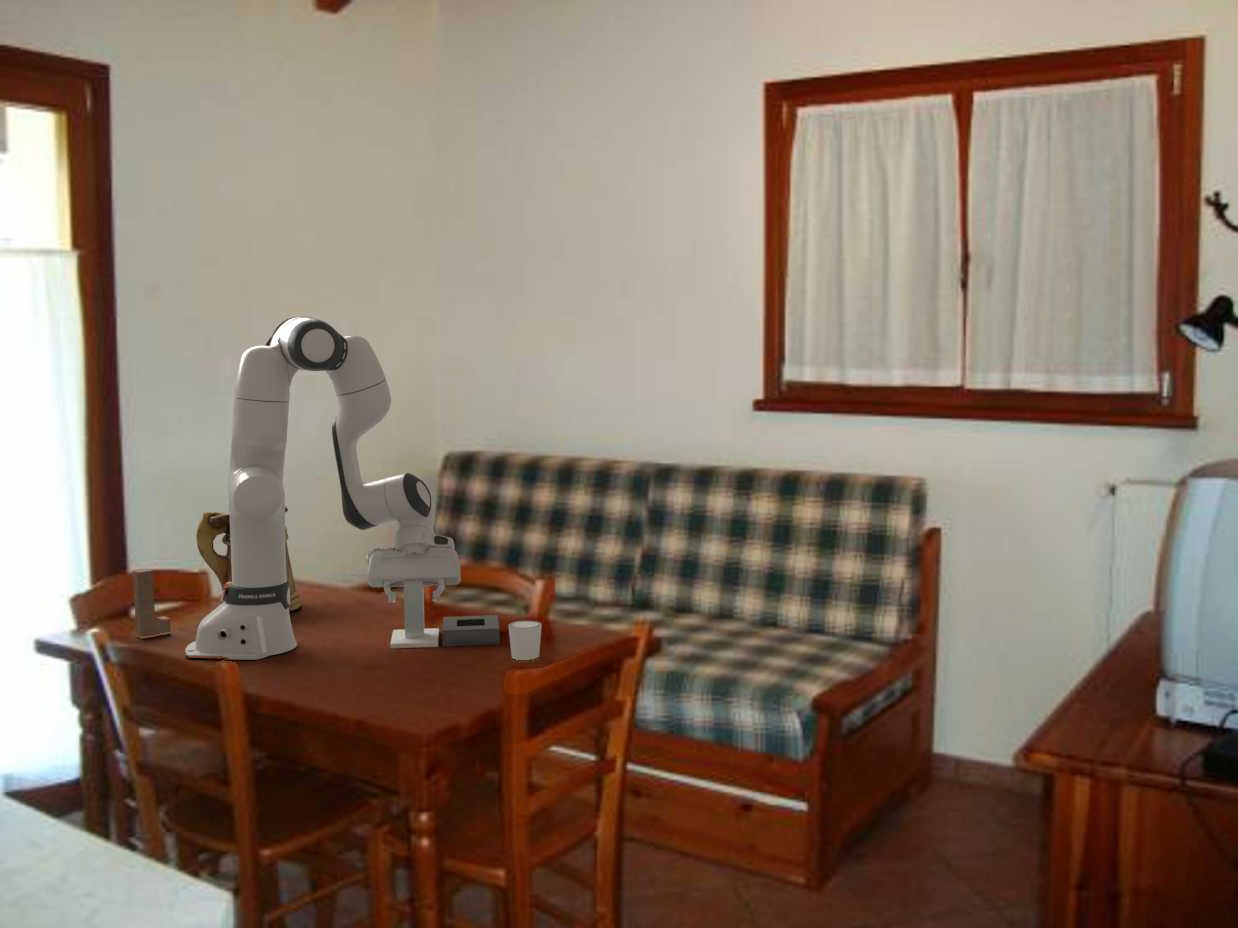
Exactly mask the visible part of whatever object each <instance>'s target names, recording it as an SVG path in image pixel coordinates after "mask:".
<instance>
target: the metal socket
mask: <svg viewBox="0 0 1238 928" xmlns="http://www.w3.org/2000/svg"><path fill="white" fill-rule="evenodd" d="M442 618H443V619H442V647H462V646H463V647H464V646H489V645H491V646H492V645H493V646H494V645H500V644H501V643H500V624H499V616H498V614H494V615H493V614H491V615H490V614H489V615H465V616H464V615H463V616H443V617H442Z"/></svg>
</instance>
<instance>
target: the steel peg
mask: <svg viewBox="0 0 1238 928" xmlns="http://www.w3.org/2000/svg"><path fill="white" fill-rule="evenodd" d="M424 592H425V590H424V586H423V579H416V580H404V586H403V602H404V606H403V607H404V609H403V610H404V629H405V638H424V634H425V630H424V629H425V599H424V598H425V597H424V596H425V595H424Z"/></svg>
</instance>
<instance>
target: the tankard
mask: <svg viewBox="0 0 1238 928" xmlns="http://www.w3.org/2000/svg"><path fill="white" fill-rule="evenodd" d="M288 511H289V509H288V507H287V506H285V514H286V513H287V512H288ZM222 534H224V535H223V537H222V539H221V542H222V544H224V545H226V546H227V547H226V553H225V555H224V554H223V555H222V554H218V553H217V551H215V549H214V540H216V537H217V536H218V535H222ZM288 540H289V533H288V530H287V526H286V525H285V550H286V577H287V580H288V581H289V587H290V606H289V613H290V612H292V611H295V610H297V609H299V608H300V607H301V606H302V602H301V597H300V594H299V593H300V591H299V590H298V589H297V588H296V584H295V578H294V575H293V570H292V569H293V568H292V563H291V558H290V554H289V549H288V544H287V541H288ZM196 546H197V550H198V552H199V555H200V556H201V557H202V559H203V561H204V562H205V563H206V565H208V567H209V568H210V569H211V571H212V572H213V573H214V575H215V576H216V577H217V579H218V581H219V583H220V587H221V590H222V591H221V592H223V587H224V585H225V584H226V583H227V582H232V565H231V540H230V516H229V511H227V512H219V511H204V512H203V516H202V518H201V520H200V522H199V524H198V526H197V531H196ZM223 602H224V600H223V595H221V597H220V604H219V605H221V604H222V603H223Z"/></svg>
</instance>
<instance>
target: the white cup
mask: <svg viewBox="0 0 1238 928" xmlns="http://www.w3.org/2000/svg"><path fill="white" fill-rule="evenodd" d="M507 627H508V634H509V643H510V652H511V659H512V658H513V659H516V660H515V661H517V660H530V659H535V658H537V657H539V658H540V650H541V649H540V648H541V636H542V623H541V622H540V621H535V620H520V621H519V620H517V621H512V622H511V623H508V626H507Z"/></svg>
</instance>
